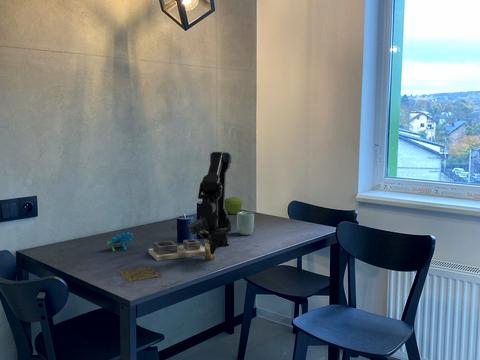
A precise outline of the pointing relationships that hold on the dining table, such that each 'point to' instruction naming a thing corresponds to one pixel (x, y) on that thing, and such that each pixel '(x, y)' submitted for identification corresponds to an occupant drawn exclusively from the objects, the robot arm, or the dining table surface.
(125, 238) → the blue green toy animal
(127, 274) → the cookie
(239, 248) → the dining table surface
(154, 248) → the board
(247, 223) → the cup
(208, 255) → the cylinder
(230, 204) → the apple
